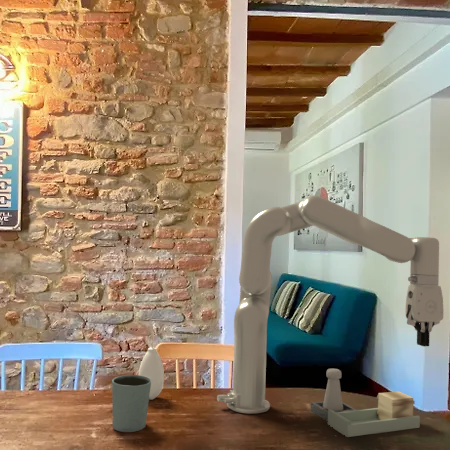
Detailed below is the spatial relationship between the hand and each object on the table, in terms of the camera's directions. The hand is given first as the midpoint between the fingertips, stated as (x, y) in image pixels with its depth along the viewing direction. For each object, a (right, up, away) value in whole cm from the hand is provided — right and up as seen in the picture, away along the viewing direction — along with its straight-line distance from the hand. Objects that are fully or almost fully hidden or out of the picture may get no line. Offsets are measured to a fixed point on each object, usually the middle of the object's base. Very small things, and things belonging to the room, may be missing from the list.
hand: (422, 345), depth 148 cm
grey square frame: (-25, -20, +2) cm, 32 cm away
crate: (-9, -21, -3) cm, 23 cm away
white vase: (-79, -19, +11) cm, 82 cm away
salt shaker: (-25, -21, +2) cm, 33 cm away
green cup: (-81, -19, -11) cm, 84 cm away
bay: (-16, -21, -6) cm, 26 cm away
